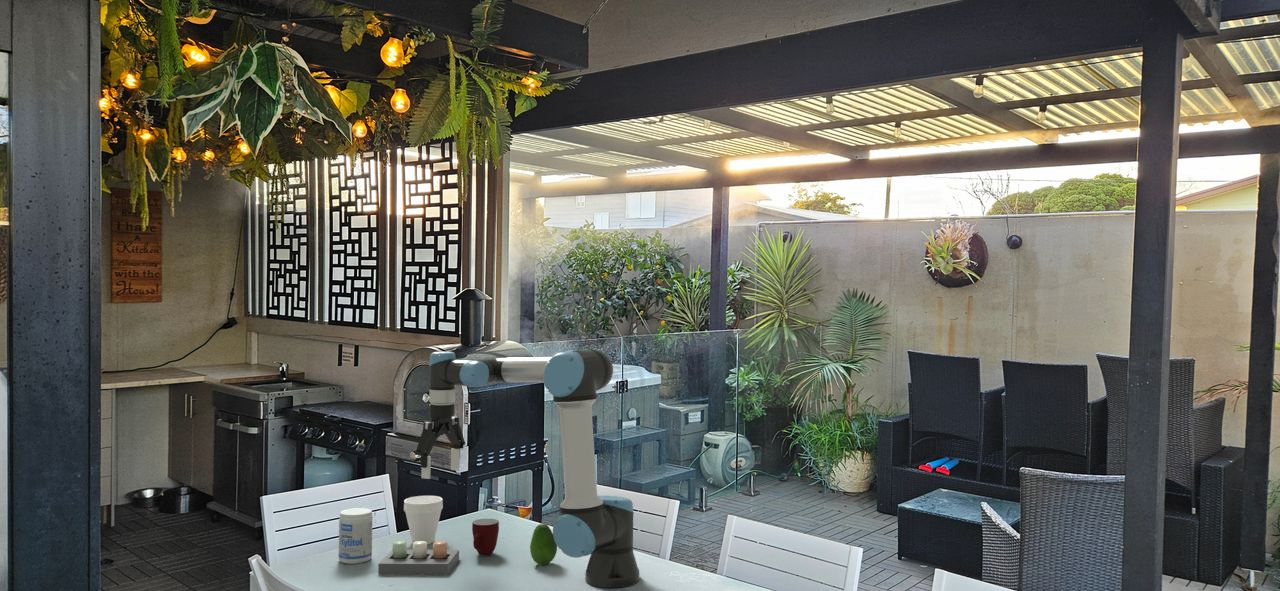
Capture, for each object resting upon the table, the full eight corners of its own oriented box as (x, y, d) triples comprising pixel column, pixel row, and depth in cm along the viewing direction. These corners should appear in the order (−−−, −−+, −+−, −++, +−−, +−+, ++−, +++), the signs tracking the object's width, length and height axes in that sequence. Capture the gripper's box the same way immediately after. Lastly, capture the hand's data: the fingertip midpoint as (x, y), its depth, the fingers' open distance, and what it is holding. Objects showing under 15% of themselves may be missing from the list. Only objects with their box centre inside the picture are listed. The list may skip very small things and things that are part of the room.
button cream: (428, 554, 257) (428, 541, 257) (424, 558, 253) (424, 544, 253) (415, 554, 257) (414, 540, 257) (411, 558, 253) (411, 544, 253)
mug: (490, 561, 260) (490, 527, 260) (464, 559, 262) (464, 526, 262) (502, 551, 271) (502, 519, 271) (478, 549, 272) (478, 517, 272)
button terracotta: (448, 554, 257) (448, 541, 257) (445, 558, 253) (445, 544, 253) (435, 554, 257) (434, 541, 257) (431, 558, 253) (431, 544, 253)
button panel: (459, 559, 262) (459, 549, 262) (447, 574, 248) (447, 563, 248) (393, 559, 262) (393, 549, 262) (378, 574, 248) (378, 563, 248)
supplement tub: (337, 566, 256) (338, 516, 256) (339, 557, 265) (339, 508, 265) (372, 563, 259) (372, 513, 259) (372, 554, 268) (372, 506, 268)
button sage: (408, 554, 257) (408, 540, 257) (404, 558, 253) (404, 544, 253) (394, 554, 257) (395, 540, 257) (390, 558, 253) (390, 544, 253)
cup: (396, 545, 277) (396, 502, 278) (416, 535, 289) (416, 494, 289) (430, 548, 274) (430, 505, 274) (449, 538, 286) (449, 496, 286)
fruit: (562, 563, 258) (562, 523, 258) (545, 570, 252) (545, 528, 252) (542, 558, 263) (542, 519, 263) (524, 565, 256) (524, 524, 256)
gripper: (457, 398, 273) (456, 465, 273) (403, 407, 251) (402, 480, 251) (477, 399, 270) (476, 467, 270) (424, 409, 248) (423, 483, 248)
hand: (440, 474), depth 261 cm, fingers open, 13 cm apart
